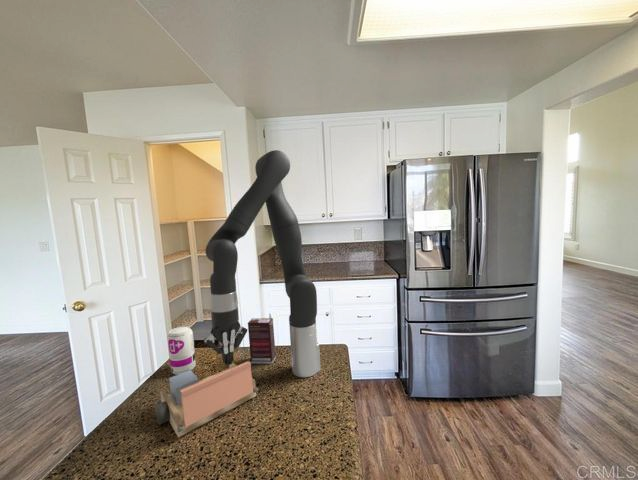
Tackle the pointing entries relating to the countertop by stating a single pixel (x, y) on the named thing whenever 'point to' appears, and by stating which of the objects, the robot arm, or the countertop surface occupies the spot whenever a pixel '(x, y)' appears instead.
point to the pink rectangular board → (216, 393)
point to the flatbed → (174, 412)
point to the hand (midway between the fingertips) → (228, 363)
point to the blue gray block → (181, 384)
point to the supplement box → (261, 340)
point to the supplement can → (181, 350)
